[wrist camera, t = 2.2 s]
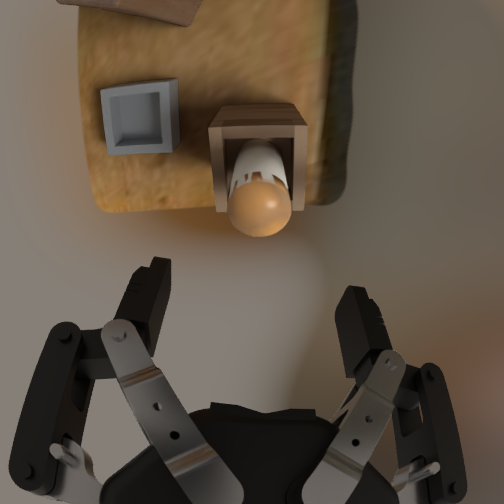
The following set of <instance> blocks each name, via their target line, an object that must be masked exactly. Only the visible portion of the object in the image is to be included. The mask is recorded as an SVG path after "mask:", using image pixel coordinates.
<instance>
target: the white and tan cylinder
mask: <svg viewBox="0 0 504 504" xmlns="http://www.w3.org/2000/svg"><path fill="white" fill-rule="evenodd" d="M227 213H228V217H229V220H230V222H231V223H232V224H233V225H234V227H235V228H237V229H238V230H239V231H241V232H242V233H244V234H247V235H250V236H255V237H263V236H269V235H272V234H274V233H276V232H278V231H279V230H281V229H282V228H283V227H284V226H285V225H286V224H287V222H288V220H289V218H290V215H291V202H290V197H289V192H288V186H287V181H286V176H285V171H284V166H283V161H282V156H281V153H280V150H279V149H278V147H277V146H276V145H275V144H274V143H272V142H271V141H268V140H265V139H252V140H249V141H247V142H246V143H244V144H243V145H242V146H241V147H240V149H239V151H238V153H237V157H236V162H235V167H234V172H233V177H232V182H231V188H230V193H229V198H228V204H227Z"/></svg>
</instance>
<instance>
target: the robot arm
mask: <svg viewBox="0 0 504 504" xmlns="http://www.w3.org/2000/svg"><path fill="white" fill-rule="evenodd" d="M170 291H171V259H167V258H161V257H154V258H153V260H152V262H151V265H150V267H143V266H141V267H140V268H139V269H137V270H136V271H135V272H134V273H133V275H132V277H131V279H130V281H129V284H128V286H127V289H126V291H125V293H124V296H123V298H122V300H121V302H120V305H119V307H118V310H117V312H116V315H115V317H114V319H113V320H112V321H110V322H108V323H107V324H106V325H105V326H104V327H103V328H101V329H95V330H80V329H79V327H78V326H77V325H76V324H74V323H72V322H61V323H59V324H57V325H55V326H54V327H53V328H52V329H51V331H50V333H49V335H48V338H47V340H46V343H45V345H44V348H43V350H42V353H41V356H40V358H39V361H38V363H37V366H36V369H35V372H34V374H33V377H32V380H31V383H30V386H29V389H28V392H27V395H26V398H25V401H24V405H23V408H22V411H21V415H20V419H19V422H18V426H17V430H16V434H15V437H14V442H13V446H12V450H11V455H10V460H9V473H10V476H11V478H12V480H13V481H14V482H15V484H17V486H19V487H20V488H22V489H24V490H26V491H29V492H31V493H33V494H35V495H38V496H41V497H44V498H47V499H52V500H57V501H65V502H67V503H70V504H456V503H458V502H460V501H461V500H462V499H463V498H464V497H465V495H466V492H467V479H466V472H465V465H464V459H463V454H462V449H461V443H460V438H459V433H458V429H457V424H456V420H455V416H454V412H453V408H452V404H451V400H450V397H449V393H448V389H447V385H446V382H445V379H444V375H443V373H442V371H441V369H440V368H439V367H438V366H437V365H435V364H433V363H425V364H424V365H423V366H422V367H421V368H417V367H414V366H411V365H408V364H406V363H405V360H404V359H403V357H402V356H401V355H400V354H399V353H398V352H396V351H394V350H393V349H392V345H391V342H390V339H389V336H388V333H387V330H386V327H385V325H384V321H383V318H382V315H381V312H380V309H379V307H378V306H377V304H376V303H375V302H374V301H373V299H369V297H368V295H367V292H366V289H365V288H364V287H358V286H351V285H350V286H348V287H347V288H346V290H345V292H344V294H343V296H342V298H341V300H340V302H339V304H338V306H337V308H336V311H335V323H336V327H337V332H338V337H339V342H340V347H341V352H342V357H343V363H344V367H345V373H346V378H355V380H356V383H355V384H354V385H353V387H352V388H351V390H350V392H349V393H348V395H347V396H346V398H345V400H344V401H343V403H342V404H341V406H340V407H339V409H338V411H337V412H336V413H335V415H334V416H333V417H332V418H331V420H330V421H327V420H325V419H323V418H320V417H318V416H316V412H315V409H287V410H282V411H277V412H271V413H261V412H257V411H254V410H251V409H248V408H245V407H242V406H239V405H232V404H223V403H215V402H211V405H210V408H208V409H202V410H197V411H194V412H192V413H189V414H188V413H187V412H186V410H185V409H184V407H183V406H182V404H181V402H180V401H179V399H178V398H177V396H176V394H175V393H174V391H173V390H172V388H171V386H170V384H169V383H168V381H167V379H166V378H165V376H164V374H163V373H162V371H161V370H160V369H159V368H157V367H156V366H155V364H154V363H153V361H152V359H151V357H153V356H154V352H155V348H156V344H157V341H158V337H159V333H160V329H161V325H162V322H163V318H164V315H165V311H166V308H167V304H168V301H169V297H170ZM109 378H116V379H117V381H118V383H119V385H120V387H121V389H122V391H123V393H124V396H125V398H126V400H127V402H128V404H129V406H130V408H131V410H132V412H133V414H134V416H135V418H136V420H137V422H138V424H139V426H140V427H141V429H142V431H143V433H144V435H145V436H146V438H147V440H148V442H149V444H150V445H149V446H148V447H147V448H146V449H145V450H143V451H142V452H141V453H140V454H138V455H137V456H136V457H135V458H133V459H132V460H131V461H130V462H128V463H127V464H126V465H125V466H123V467H122V468H121V469H120V470H118V471H117V472H116V473H114V474H113V475H112V476H111V477H109V478H108V479H107V480H106V482H105V483H104V485H102V484H101V483H100V482H99V481H98V480H97V479H96V477H95V475H94V472H93V461H92V459H91V457H90V455H89V454H88V453H87V452H86V451H85V450H84V449H83V448H82V447H81V442H82V436H83V432H84V427H85V422H86V417H87V413H88V408H89V404H90V400H91V395H92V391H93V387H94V383H95V379H109ZM419 404H420V405H421V410H422V415H423V423H422V420H421V416H420V410H419ZM391 414H392V420H393V426H394V433H395V440H396V449H397V457H398V465H399V466H398V467H399V470H398V471H397V472H396V474H395V477H394V480H393V481H392V483H391V484H390V483H389V482H388V481H387V480H386V479H385V478H384V477H383V476H382V475H381V474H380V473H379V472H378V471H377V470H376V469H375V468H374V467H373V465H371V464H370V462H369V461H368V459H369V457H370V456H371V454H372V452H373V450H374V448H375V446H376V444H377V442H378V440H379V438H380V437H381V434H382V433H383V431H384V428H385V426H386V424H387V422H388V420H389V418H390V416H391Z"/></svg>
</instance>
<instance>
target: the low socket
mask: <svg viewBox="0 0 504 504" xmlns="http://www.w3.org/2000/svg"><path fill="white" fill-rule="evenodd" d="M100 92H101V103H102V113H103V121H104V130H105V137H106V145H107V151H108V156H111V155H126V154H144V153H172V152H173V151H174V150H175V149H176V147H177V146H178V145H179V143H180V129H179V104H178V78H175V79H162V80H151V81H142V82H134V83H126V84H119V85H114V86H111V87H108V88H105V89H102V90H100Z"/></svg>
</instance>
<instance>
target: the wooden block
mask: <svg viewBox="0 0 504 504" xmlns="http://www.w3.org/2000/svg"><path fill="white" fill-rule="evenodd" d="M57 2H58V3H60V4H66V5H77V6H86V7H93V8H100V9H102V10H107V11H113V12H119V13H125V14H131V15H136V16H141V17H146V18H151V19H156V20H160V21H164V22H168V23H173V24H176V25H180V26H184V27H189V26H190V25H191V23H192V21H193V19H194V16H195V14H196V12H197V10H198V8H199V6H200V4H201V2H202V0H57Z"/></svg>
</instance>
